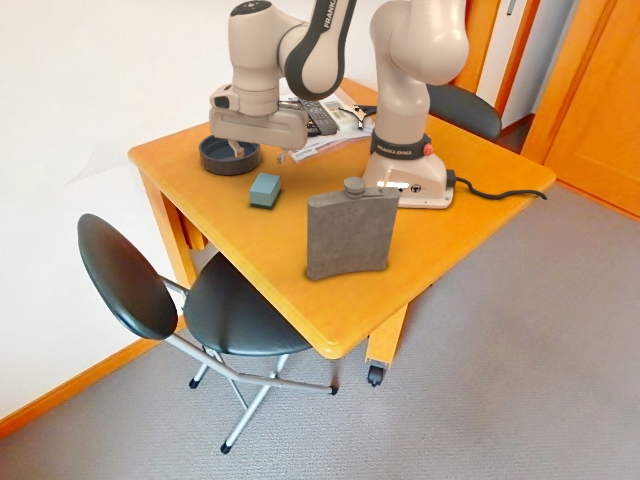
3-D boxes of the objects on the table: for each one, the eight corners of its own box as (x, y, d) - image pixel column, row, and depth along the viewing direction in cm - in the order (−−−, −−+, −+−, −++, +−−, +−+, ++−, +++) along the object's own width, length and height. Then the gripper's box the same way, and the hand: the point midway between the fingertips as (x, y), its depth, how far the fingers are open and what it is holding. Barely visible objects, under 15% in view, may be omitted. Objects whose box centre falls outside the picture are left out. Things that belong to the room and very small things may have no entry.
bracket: (336, 129, 120) (337, 120, 118) (339, 107, 131) (339, 99, 129) (384, 132, 120) (385, 123, 118) (382, 110, 131) (383, 102, 129)
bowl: (268, 149, 110) (267, 134, 107) (249, 180, 99) (248, 164, 96) (215, 142, 112) (213, 127, 109) (191, 171, 101) (188, 156, 98)
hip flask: (308, 281, 75) (309, 195, 61) (304, 265, 78) (304, 180, 64) (388, 269, 78) (405, 184, 64) (381, 254, 81) (396, 171, 67)
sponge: (261, 188, 97) (259, 172, 94) (280, 191, 96) (280, 175, 93) (250, 206, 91) (248, 190, 88) (271, 209, 91) (270, 193, 88)
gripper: (312, 98, 78) (310, 159, 87) (214, 85, 81) (222, 146, 90) (304, 111, 73) (303, 174, 83) (201, 97, 76) (211, 160, 85)
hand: (260, 159), depth 86 cm, fingers open, 8 cm apart
